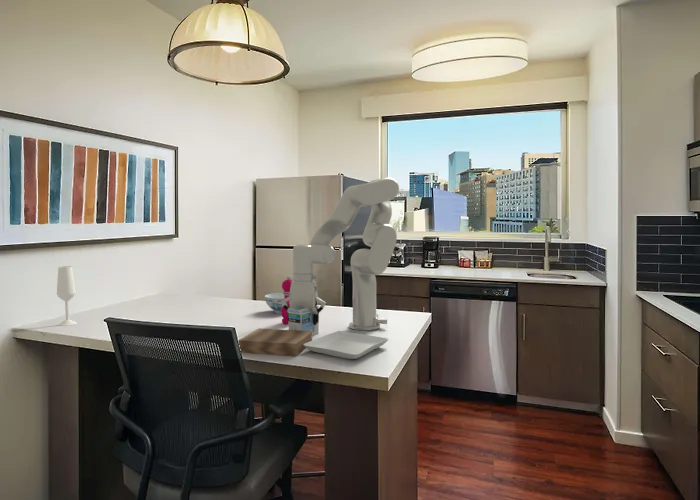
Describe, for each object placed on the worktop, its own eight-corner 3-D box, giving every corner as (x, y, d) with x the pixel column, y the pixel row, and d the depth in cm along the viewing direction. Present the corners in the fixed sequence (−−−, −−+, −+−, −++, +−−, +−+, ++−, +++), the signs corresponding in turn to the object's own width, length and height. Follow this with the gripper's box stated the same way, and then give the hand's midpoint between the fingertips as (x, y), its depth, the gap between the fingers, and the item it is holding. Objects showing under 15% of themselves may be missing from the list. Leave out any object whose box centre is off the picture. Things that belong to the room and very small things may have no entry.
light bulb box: (302, 339, 158) (301, 310, 157) (287, 337, 162) (287, 308, 161) (319, 333, 167) (319, 305, 166) (305, 330, 171) (305, 303, 170)
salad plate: (301, 353, 143) (301, 343, 142) (338, 338, 160) (338, 329, 160) (356, 365, 131) (356, 354, 131) (389, 348, 149) (389, 338, 149)
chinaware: (258, 312, 205) (257, 296, 204) (280, 307, 217) (280, 291, 217) (281, 316, 196) (281, 299, 196) (303, 310, 209) (303, 294, 208)
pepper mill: (294, 325, 179) (294, 277, 178) (278, 324, 181) (277, 276, 179) (300, 321, 186) (300, 274, 185) (284, 320, 188) (283, 274, 187)
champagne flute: (71, 321, 187) (69, 265, 186) (80, 323, 184) (78, 266, 182) (54, 324, 181) (52, 267, 180) (63, 326, 178) (60, 268, 176)
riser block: (311, 342, 154) (311, 331, 154) (296, 356, 139) (296, 343, 139) (259, 339, 159) (259, 328, 158) (238, 352, 143) (238, 340, 143)
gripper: (328, 277, 165) (328, 322, 166) (285, 275, 169) (285, 319, 170) (322, 279, 157) (322, 327, 159) (277, 278, 161) (277, 324, 162)
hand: (303, 323), depth 164 cm, fingers open, 9 cm apart
